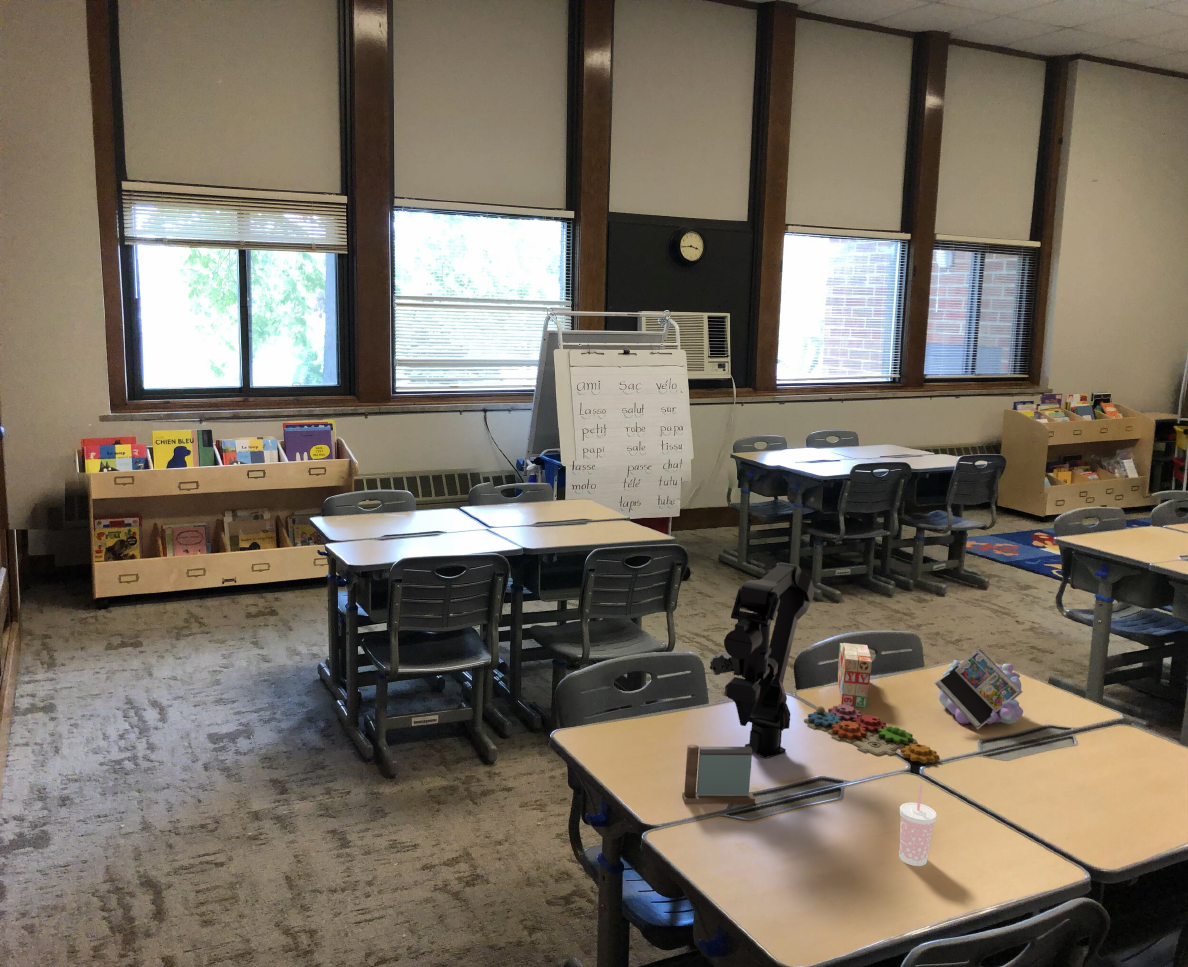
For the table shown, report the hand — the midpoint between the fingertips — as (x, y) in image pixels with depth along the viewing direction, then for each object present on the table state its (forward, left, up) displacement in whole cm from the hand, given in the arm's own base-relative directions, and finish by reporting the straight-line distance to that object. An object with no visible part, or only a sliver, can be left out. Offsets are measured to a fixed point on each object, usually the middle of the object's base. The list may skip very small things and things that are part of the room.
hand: (749, 717), depth 199 cm
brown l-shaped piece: (+13, +6, -12) cm, 19 cm away
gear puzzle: (-37, +3, -13) cm, 40 cm away
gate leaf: (+13, +7, -10) cm, 18 cm away
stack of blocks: (-56, -20, -12) cm, 61 cm away
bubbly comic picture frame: (-70, +8, -12) cm, 72 cm away
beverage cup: (-2, +40, -12) cm, 41 cm away
